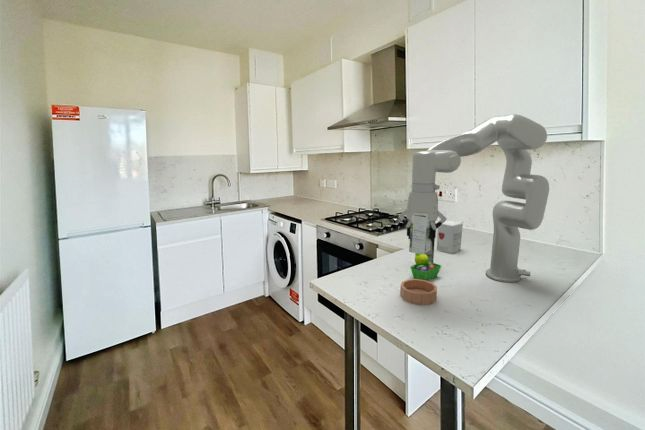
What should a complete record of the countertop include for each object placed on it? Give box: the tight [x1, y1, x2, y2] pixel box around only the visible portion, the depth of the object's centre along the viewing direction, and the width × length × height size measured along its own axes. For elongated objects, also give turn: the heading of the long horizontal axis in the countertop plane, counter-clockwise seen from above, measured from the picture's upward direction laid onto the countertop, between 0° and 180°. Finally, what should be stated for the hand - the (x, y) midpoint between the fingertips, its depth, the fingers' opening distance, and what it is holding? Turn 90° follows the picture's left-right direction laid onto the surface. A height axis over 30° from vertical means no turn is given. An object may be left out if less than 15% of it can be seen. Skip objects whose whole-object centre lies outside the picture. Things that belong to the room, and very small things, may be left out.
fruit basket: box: [410, 253, 442, 281], centre depth 131 cm, size 11×9×11 cm
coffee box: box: [426, 237, 436, 263], centre depth 142 cm, size 9×6×16 cm
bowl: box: [399, 278, 438, 306], centre depth 115 cm, size 12×12×4 cm
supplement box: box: [436, 219, 463, 255], centre depth 165 cm, size 9×9×15 cm
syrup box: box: [408, 212, 432, 255], centre depth 110 cm, size 6×6×14 cm
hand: (420, 238), depth 111 cm, fingers closed on syrup box, 6 cm apart
